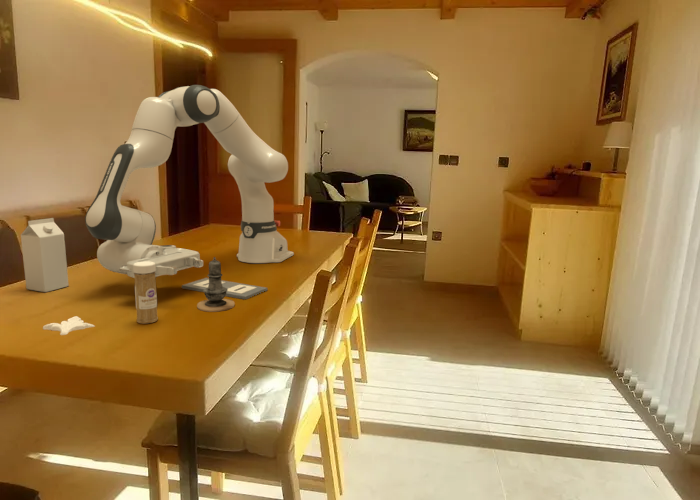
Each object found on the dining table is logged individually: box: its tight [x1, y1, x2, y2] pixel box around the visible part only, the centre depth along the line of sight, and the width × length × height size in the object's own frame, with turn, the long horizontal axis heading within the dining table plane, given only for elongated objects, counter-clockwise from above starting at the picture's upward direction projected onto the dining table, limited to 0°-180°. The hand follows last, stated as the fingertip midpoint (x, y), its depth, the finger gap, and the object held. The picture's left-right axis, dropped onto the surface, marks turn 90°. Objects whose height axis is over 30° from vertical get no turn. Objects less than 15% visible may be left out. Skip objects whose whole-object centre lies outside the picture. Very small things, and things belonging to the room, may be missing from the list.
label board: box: [181, 277, 268, 300], centre depth 135 cm, size 10×22×1 cm, turn 65°
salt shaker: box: [202, 256, 228, 307], centre depth 119 cm, size 6×6×12 cm
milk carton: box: [20, 217, 70, 293], centre depth 130 cm, size 7×7×19 cm
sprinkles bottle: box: [133, 261, 159, 325], centre depth 107 cm, size 5×5×13 cm
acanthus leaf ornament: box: [42, 315, 96, 336], centre depth 103 cm, size 8×7×2 cm
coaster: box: [196, 298, 236, 313], centre depth 120 cm, size 9×9×1 cm
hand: (188, 267), depth 122 cm, fingers open, 8 cm apart
